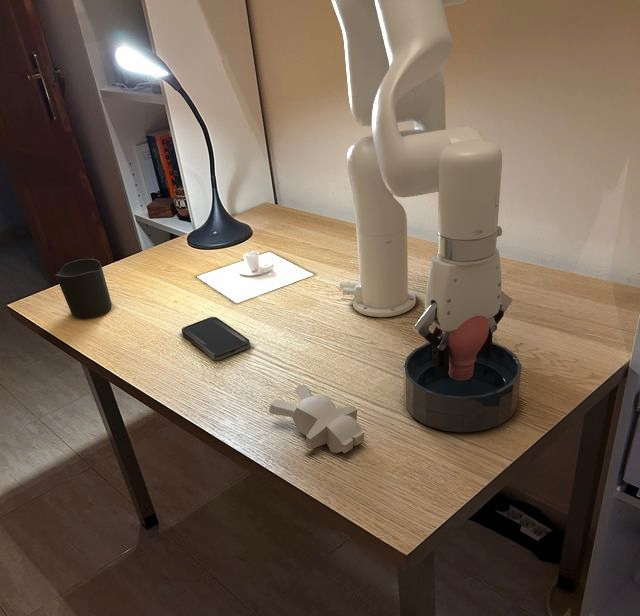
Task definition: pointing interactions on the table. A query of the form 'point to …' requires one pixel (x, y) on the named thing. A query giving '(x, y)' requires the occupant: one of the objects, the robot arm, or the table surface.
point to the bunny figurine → (321, 421)
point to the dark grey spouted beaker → (84, 288)
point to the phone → (215, 338)
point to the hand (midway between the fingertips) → (461, 360)
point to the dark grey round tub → (462, 391)
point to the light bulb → (466, 346)
